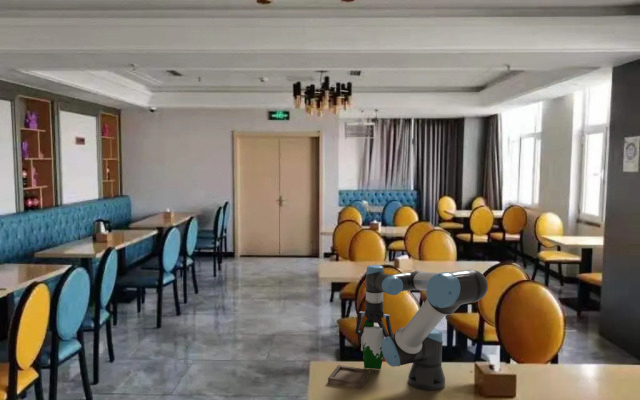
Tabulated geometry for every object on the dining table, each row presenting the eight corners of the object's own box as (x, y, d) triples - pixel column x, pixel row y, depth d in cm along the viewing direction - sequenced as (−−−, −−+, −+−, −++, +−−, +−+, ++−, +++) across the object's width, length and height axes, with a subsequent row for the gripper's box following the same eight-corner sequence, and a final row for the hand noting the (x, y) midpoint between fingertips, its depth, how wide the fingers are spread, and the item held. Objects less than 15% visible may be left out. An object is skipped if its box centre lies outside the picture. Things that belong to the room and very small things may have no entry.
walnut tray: (369, 375, 227) (369, 369, 227) (360, 389, 214) (360, 383, 213) (338, 370, 231) (338, 365, 231) (327, 383, 218) (328, 377, 218)
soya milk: (364, 361, 237) (364, 317, 235) (384, 362, 235) (385, 318, 234) (361, 368, 228) (362, 323, 227) (382, 370, 227) (383, 325, 225)
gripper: (401, 301, 229) (399, 351, 231) (352, 296, 237) (351, 345, 238) (397, 305, 222) (396, 357, 224) (347, 300, 230) (347, 350, 231)
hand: (373, 351), depth 231 cm, fingers closed on soya milk, 9 cm apart
